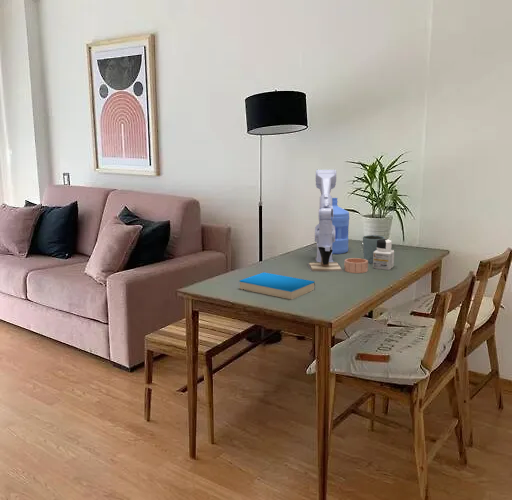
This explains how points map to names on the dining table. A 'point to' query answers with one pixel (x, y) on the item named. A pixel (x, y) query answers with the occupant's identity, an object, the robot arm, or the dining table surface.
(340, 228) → the water jug
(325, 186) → the robot arm
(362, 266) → the bowl
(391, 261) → the container
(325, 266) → the lid
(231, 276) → the dining table surface
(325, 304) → the dining table surface
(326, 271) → the mat
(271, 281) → the book
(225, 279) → the dining table surface
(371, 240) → the dark green cup
